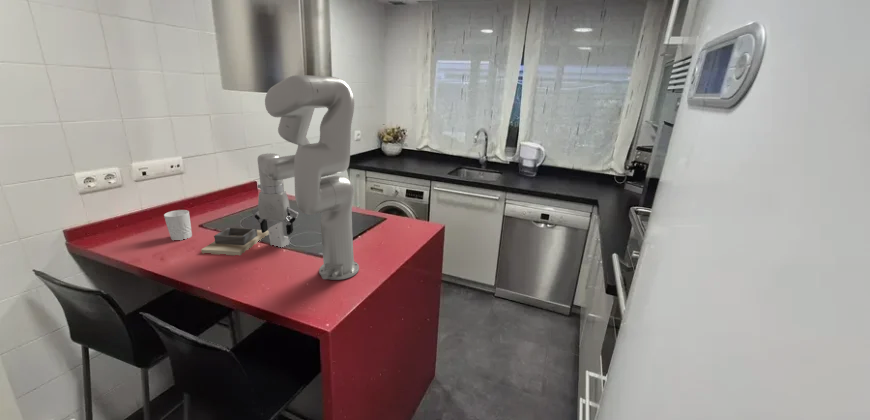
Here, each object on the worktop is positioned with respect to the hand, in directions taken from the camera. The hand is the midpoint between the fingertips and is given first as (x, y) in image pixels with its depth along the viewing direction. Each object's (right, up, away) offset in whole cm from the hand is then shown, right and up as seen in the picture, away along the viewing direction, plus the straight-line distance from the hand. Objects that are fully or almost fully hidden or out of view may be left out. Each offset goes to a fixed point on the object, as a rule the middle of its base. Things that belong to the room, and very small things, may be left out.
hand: (277, 232), depth 137 cm
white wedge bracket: (0, -5, +1) cm, 5 cm away
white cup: (-39, -2, +5) cm, 40 cm away
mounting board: (-16, -4, +2) cm, 16 cm away
